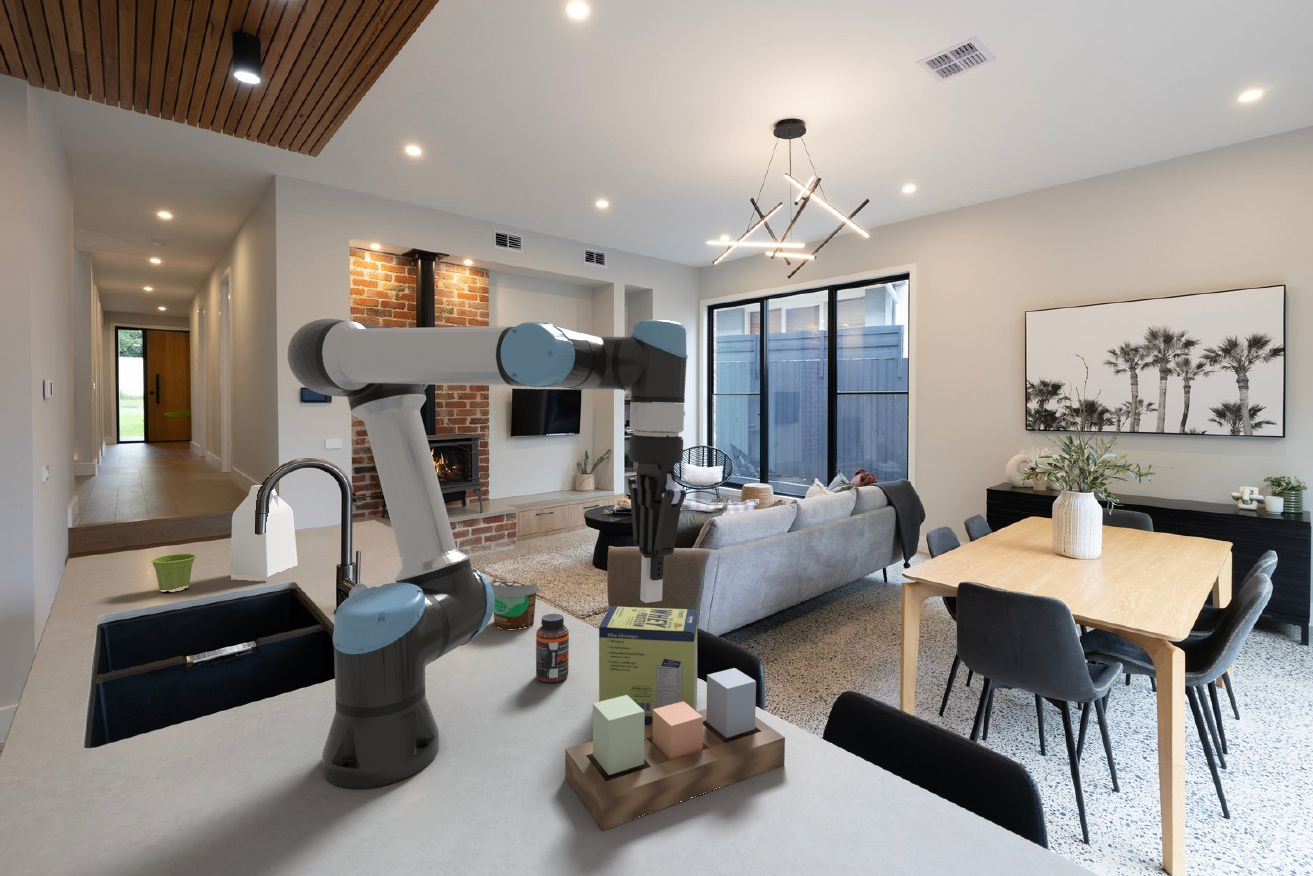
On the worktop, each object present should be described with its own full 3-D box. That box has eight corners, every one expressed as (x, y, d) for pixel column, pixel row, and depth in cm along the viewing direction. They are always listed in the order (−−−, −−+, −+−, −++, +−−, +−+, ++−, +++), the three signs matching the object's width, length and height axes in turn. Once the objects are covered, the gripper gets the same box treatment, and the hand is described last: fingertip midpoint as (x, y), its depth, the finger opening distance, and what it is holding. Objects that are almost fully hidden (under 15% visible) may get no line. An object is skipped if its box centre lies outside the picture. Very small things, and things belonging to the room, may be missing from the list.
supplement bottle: (562, 686, 111) (562, 623, 110) (530, 682, 112) (530, 621, 111) (573, 671, 117) (573, 612, 116) (543, 668, 118) (543, 610, 117)
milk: (229, 580, 174) (227, 487, 172) (262, 569, 185) (260, 482, 184) (267, 582, 172) (265, 489, 170) (298, 571, 183) (296, 483, 182)
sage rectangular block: (608, 775, 77) (609, 720, 77) (592, 755, 82) (592, 703, 81) (644, 764, 80) (644, 711, 79) (626, 745, 84) (627, 695, 84)
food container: (476, 627, 139) (476, 583, 138) (493, 618, 145) (493, 576, 144) (523, 635, 134) (523, 590, 134) (539, 626, 140) (538, 582, 139)
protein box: (608, 692, 109) (609, 605, 108) (697, 697, 107) (698, 608, 106) (596, 722, 98) (597, 626, 97) (695, 728, 97) (696, 631, 96)
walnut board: (601, 831, 73) (602, 798, 73) (565, 777, 84) (565, 748, 83) (784, 765, 87) (784, 737, 87) (733, 725, 97) (733, 701, 97)
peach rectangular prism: (670, 777, 82) (671, 726, 81) (652, 758, 86) (652, 709, 86) (702, 766, 84) (702, 716, 84) (682, 748, 89) (683, 701, 88)
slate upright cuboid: (726, 738, 86) (727, 688, 86) (706, 721, 90) (707, 674, 90) (755, 729, 89) (756, 681, 88) (734, 713, 93) (734, 667, 93)
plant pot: (189, 582, 171) (188, 551, 170) (202, 589, 165) (201, 556, 165) (146, 591, 163) (145, 558, 163) (159, 597, 158) (157, 564, 157)
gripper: (704, 437, 82) (698, 611, 84) (658, 431, 94) (653, 584, 95) (654, 437, 79) (648, 619, 80) (612, 430, 90) (608, 590, 92)
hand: (651, 600), depth 88 cm, fingers closed
